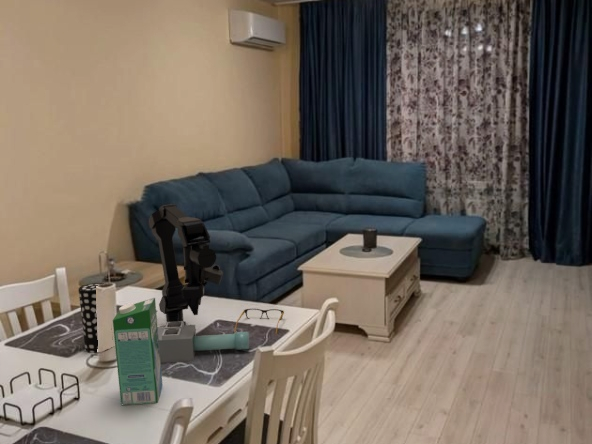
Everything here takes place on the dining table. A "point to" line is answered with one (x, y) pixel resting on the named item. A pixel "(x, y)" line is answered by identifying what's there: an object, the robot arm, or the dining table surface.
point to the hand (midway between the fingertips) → (197, 309)
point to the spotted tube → (89, 316)
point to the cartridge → (221, 341)
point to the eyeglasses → (261, 316)
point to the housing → (176, 343)
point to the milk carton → (138, 353)
